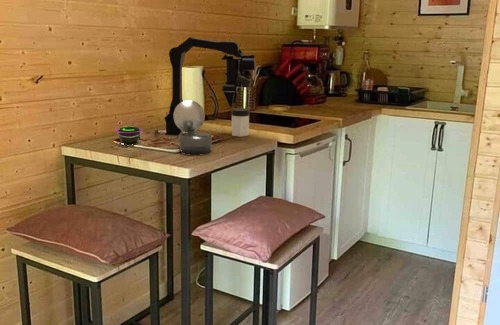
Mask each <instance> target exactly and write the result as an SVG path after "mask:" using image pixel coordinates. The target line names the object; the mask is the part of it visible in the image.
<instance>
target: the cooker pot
mask: <svg viewBox="0 0 500 325" xmlns="http://www.w3.org/2000/svg"><path fill="white" fill-rule="evenodd" d="M178 136H179V150H180V149H181V150H182V152H183V153H185V154H184V155H186V154H190V155H189V156H201V155H200V154H204V155H208V154H210V153H212V152H213V150H212V148H213V147H212V146H213V145H212V144H213V142H212V139H213V138H212V134H211V133H207V132H201V131H194V132H182V133H180V134H179V135H178Z"/></svg>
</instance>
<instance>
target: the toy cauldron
mask: <svg viewBox="0 0 500 325" xmlns="http://www.w3.org/2000/svg"><path fill="white" fill-rule="evenodd" d="M133 121H135V120H133V119H132V121H128V123H129V124H131V123H132V122H133ZM118 125H119V126H120V127H119V128H117V129H116V130H115V133H116V134H117V136H118V137H119V140H120V142H118V143H119V144H118V145H117V146H118V147H122V148H128V147H131V148H132V147H134V145H141V143H142V141H140V138H141V135H142V134H143V131H144V129H142V127H138V124H136V126H134V125H131V126H127V125H125V126H122V124H118ZM121 143H124V145H121ZM136 143H137V144H136ZM132 144H133V145H132ZM127 145H129V146H127Z"/></svg>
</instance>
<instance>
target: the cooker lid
mask: <svg viewBox="0 0 500 325" xmlns="http://www.w3.org/2000/svg"><path fill="white" fill-rule="evenodd" d="M204 110H205V109H204V108H203V106H202V105H201V104H200V103H199V102H197V101H196V100H190V99H188V100H183V102H180V103H179V104H178V105H177V107H176V108H175V110H174V115H173V117H174V122H175V124H176V126H177V127H178V128H179V129H181V130H182V132H184V133H189V132H197V131H198V130H199V129H201V127H202V126H203V124H204V122H205V119H206V117H205V116H206V114H205V111H204Z"/></svg>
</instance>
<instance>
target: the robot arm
mask: <svg viewBox="0 0 500 325" xmlns="http://www.w3.org/2000/svg"><path fill="white" fill-rule="evenodd" d="M194 47H195V48H200V49H208V50H215V51H219V52H221V53H223V54H224V55H223V57H222V58H221V60H222V61H225V76H226V77H225V82H224V83H225V84H224V85H223V86H222V87H221V89H222V93H223V94H224V96H225V99H226V101H227V104H228V106H229V107H230V108H231V107H233V105H234V104H236V102H237V97H238V93H239V91H240V90H241V89H242V87H243V86H244V87H246V88H250V86H251V85H252V84H251V83H252V79H251V76H250V75H245V76H243V75H241V72H240V69H242V71H256V69H257V68H256V67H257V62H256V55H255V54H244V53H243V51H242V50H241V49H240V44H239V43H238V42H237V41H234V40H229V41H227V40H225V41H216V40H211V39H210V40H209V39H203V38H197V37H193V36H191V37H188V38H187V39H186V40H184V41H183V42H182V43H180V44H179V45H178V46H176V47H175V46H174V47H172V48H171V49H169V52H168V55H169V61H170V65H171V70H172V71H171V72H172V79H171V80H172V82H171V83H172V85H171V86H172V90H171V91H172V97H171V98H172V99H171V102H170V105H169V111H168V114H167V115H166V116H165V117H164V121H165V133H164V135H165V136H167V135H169V136H180V135H181V134H183V131H182V130H181V129H179V128H178V127H177V126H176V124H175V122H174V117H173V115H174V110H175V108H176V107H177V105H178V104H179V103H180V102H183V101H184V100H183V65H184V62H185V57H186V53H188V52H189V51H191V49H192V48H194Z"/></svg>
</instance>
